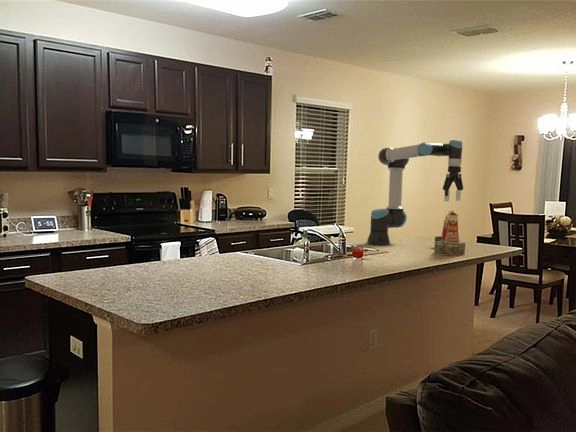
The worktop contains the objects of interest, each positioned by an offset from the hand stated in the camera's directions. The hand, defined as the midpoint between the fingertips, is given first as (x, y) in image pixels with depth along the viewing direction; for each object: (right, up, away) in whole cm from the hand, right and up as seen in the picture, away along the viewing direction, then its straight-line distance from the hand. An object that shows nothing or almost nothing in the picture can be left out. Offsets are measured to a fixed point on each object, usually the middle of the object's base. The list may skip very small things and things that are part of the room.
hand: (452, 201), depth 321 cm
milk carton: (-1, -25, +2) cm, 26 cm away
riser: (-1, -32, +3) cm, 32 cm away
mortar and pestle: (+2, -30, +26) cm, 40 cm away
